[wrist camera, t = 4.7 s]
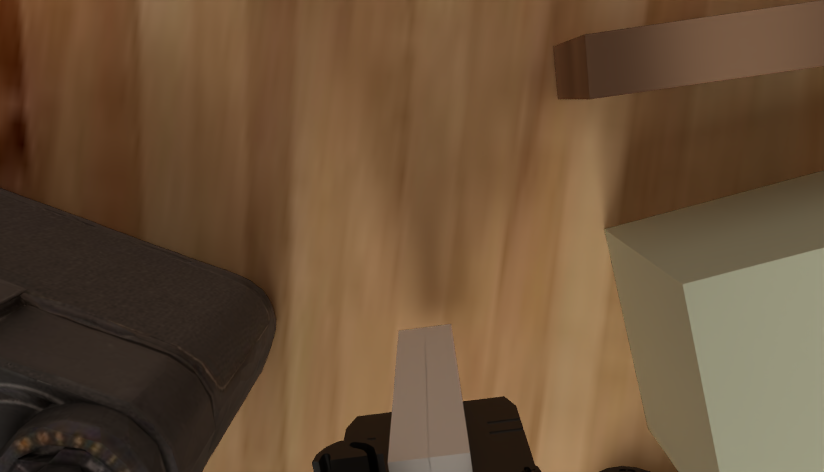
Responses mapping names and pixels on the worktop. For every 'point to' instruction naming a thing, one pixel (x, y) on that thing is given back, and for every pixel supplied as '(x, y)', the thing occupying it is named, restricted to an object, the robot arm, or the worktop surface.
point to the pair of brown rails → (691, 51)
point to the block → (730, 327)
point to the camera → (117, 347)
